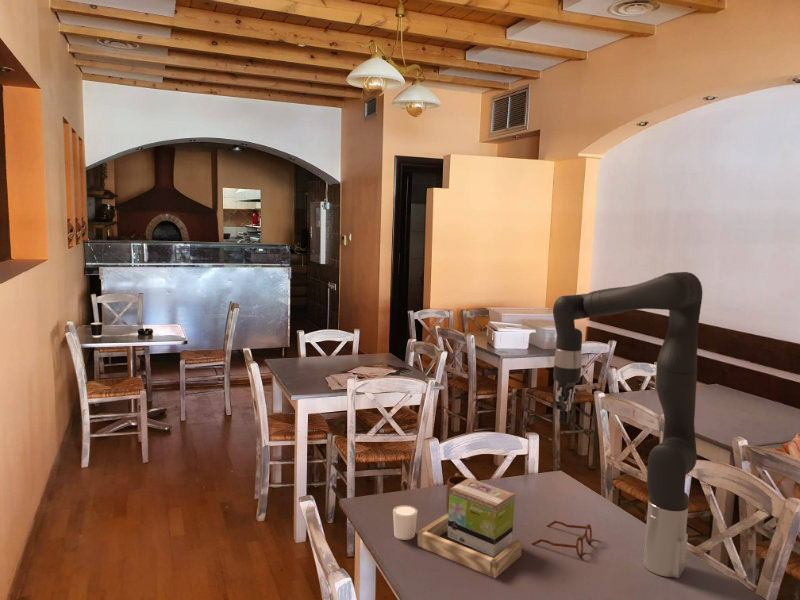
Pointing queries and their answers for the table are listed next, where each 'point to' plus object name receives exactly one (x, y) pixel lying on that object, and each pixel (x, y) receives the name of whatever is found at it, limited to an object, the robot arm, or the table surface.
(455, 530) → the tea box
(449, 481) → the mug
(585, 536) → the glasses
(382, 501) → the table surface
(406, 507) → the white cup
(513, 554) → the corral
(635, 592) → the table surface
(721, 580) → the table surface
